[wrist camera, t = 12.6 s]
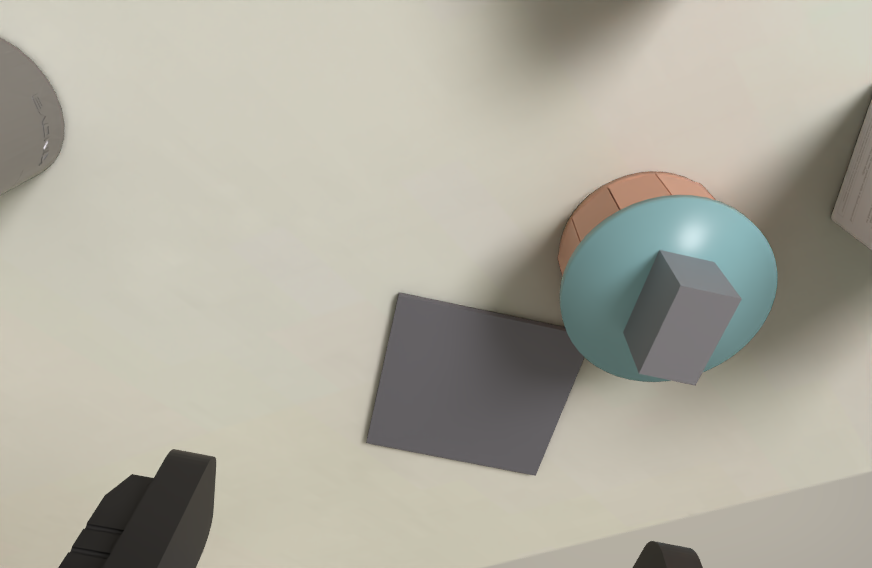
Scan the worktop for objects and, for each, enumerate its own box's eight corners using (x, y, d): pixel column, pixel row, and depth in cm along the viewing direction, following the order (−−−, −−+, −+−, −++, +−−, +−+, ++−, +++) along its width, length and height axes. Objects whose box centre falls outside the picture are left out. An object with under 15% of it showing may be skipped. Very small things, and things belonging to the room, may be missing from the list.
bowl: (538, 301, 44) (547, 347, 39) (589, 154, 39) (607, 186, 34) (686, 332, 45) (712, 381, 40) (756, 192, 39) (795, 228, 35)
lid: (534, 352, 39) (542, 402, 35) (599, 173, 34) (618, 207, 29) (716, 390, 40) (745, 443, 36) (811, 221, 34) (859, 261, 30)
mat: (367, 438, 51) (366, 442, 50) (399, 292, 44) (398, 296, 44) (534, 471, 52) (535, 475, 51) (591, 332, 45) (592, 336, 45)
